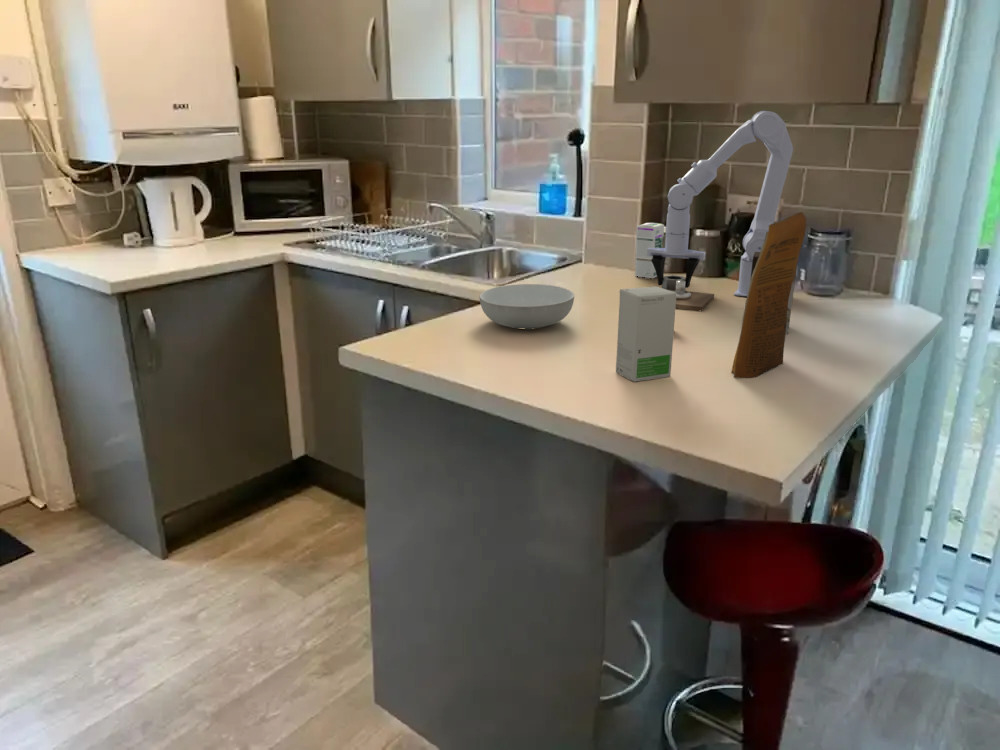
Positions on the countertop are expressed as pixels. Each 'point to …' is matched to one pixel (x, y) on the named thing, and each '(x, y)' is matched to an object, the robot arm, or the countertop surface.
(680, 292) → the piston post
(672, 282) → the ring
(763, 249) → the pancake mix bag
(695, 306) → the board
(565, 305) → the serving bowl
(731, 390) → the countertop surface
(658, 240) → the syrup box
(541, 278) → the countertop surface
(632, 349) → the skincare box
